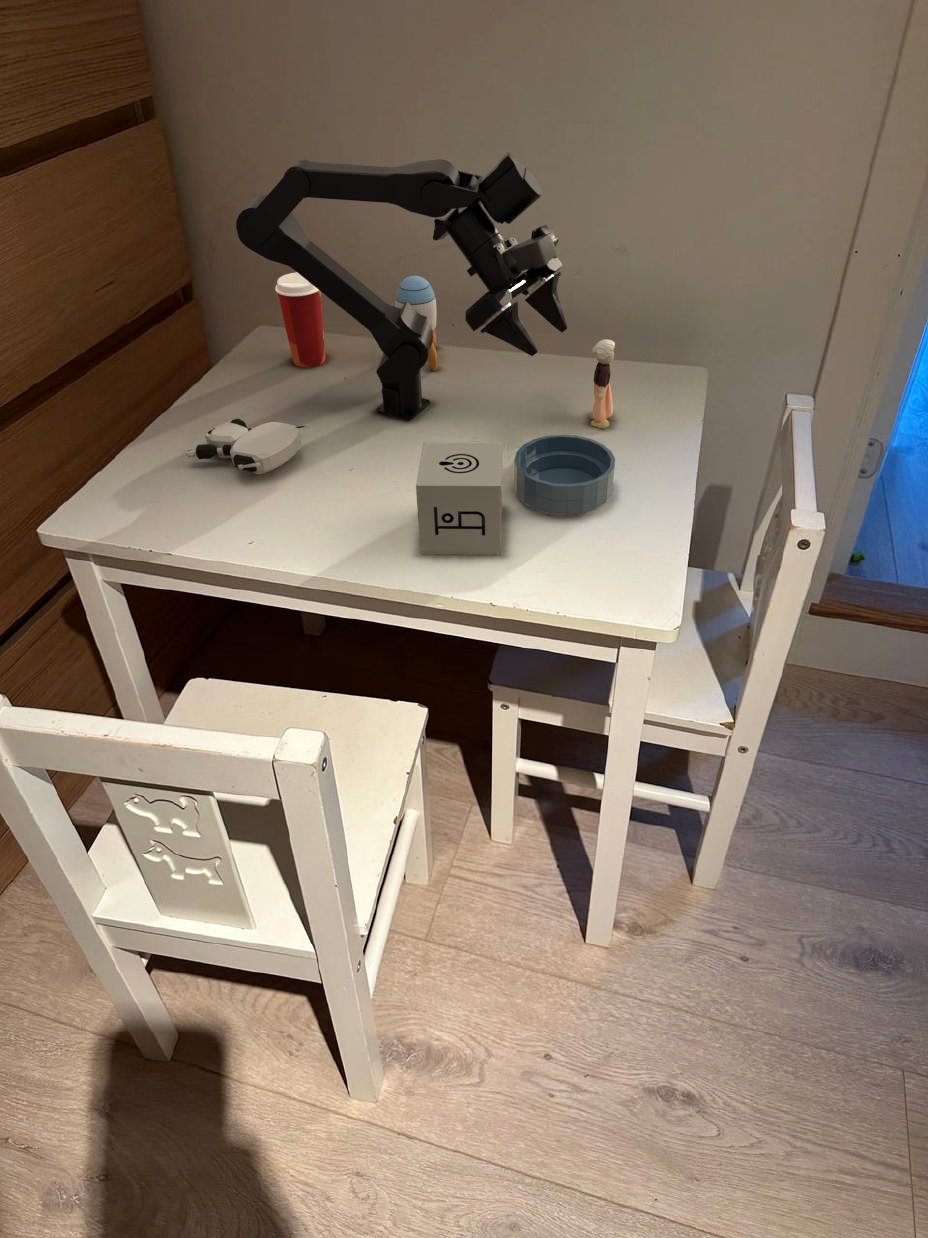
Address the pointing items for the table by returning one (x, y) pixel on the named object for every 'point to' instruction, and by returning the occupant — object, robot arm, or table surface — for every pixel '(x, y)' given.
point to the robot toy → (251, 445)
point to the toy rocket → (420, 306)
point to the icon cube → (460, 498)
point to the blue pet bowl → (563, 474)
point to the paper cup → (302, 319)
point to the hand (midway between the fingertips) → (550, 341)
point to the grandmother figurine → (602, 384)
